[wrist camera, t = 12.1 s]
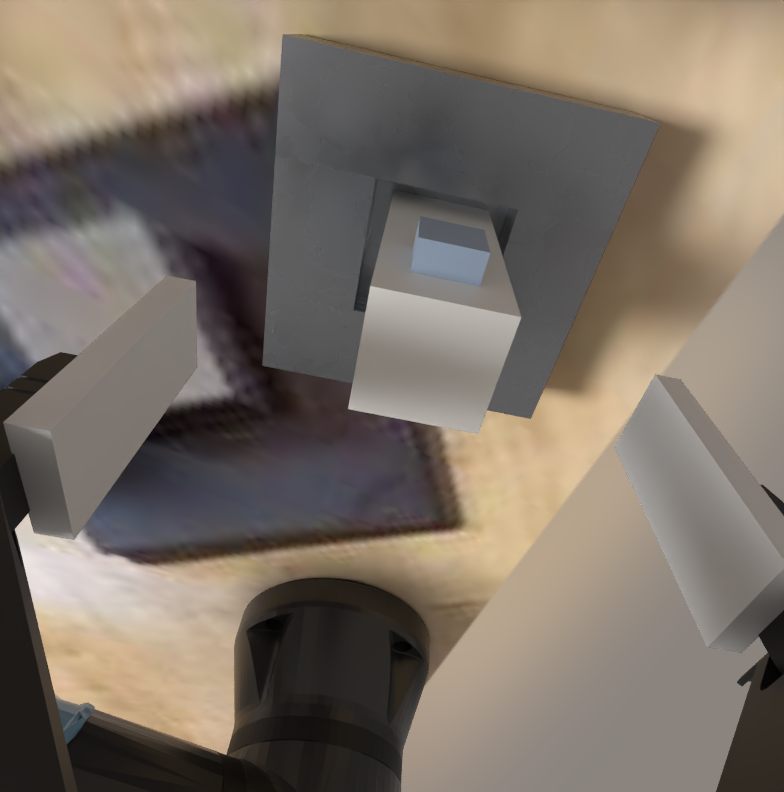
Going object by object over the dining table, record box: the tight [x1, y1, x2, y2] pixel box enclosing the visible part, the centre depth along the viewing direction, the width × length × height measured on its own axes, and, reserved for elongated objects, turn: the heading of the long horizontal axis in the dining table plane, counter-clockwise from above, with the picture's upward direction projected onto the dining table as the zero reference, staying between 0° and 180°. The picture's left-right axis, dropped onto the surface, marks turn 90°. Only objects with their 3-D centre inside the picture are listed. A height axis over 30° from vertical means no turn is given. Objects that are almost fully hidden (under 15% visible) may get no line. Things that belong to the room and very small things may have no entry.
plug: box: [348, 190, 521, 434], centre depth 19 cm, size 5×4×10 cm
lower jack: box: [263, 34, 660, 419], centre depth 22 cm, size 13×13×3 cm
